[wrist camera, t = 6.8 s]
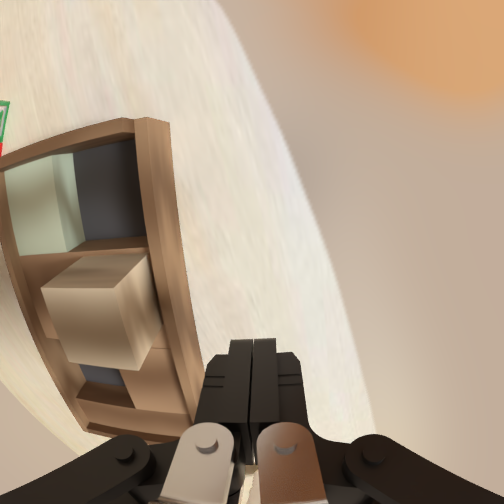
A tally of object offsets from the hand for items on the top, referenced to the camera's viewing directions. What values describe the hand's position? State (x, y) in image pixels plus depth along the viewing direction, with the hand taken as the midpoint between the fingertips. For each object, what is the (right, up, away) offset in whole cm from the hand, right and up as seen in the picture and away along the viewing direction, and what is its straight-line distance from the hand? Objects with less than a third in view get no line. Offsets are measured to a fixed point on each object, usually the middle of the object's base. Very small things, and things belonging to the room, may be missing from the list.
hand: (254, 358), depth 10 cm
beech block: (-7, +2, +5) cm, 9 cm away
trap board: (-9, 0, +8) cm, 12 cm away
